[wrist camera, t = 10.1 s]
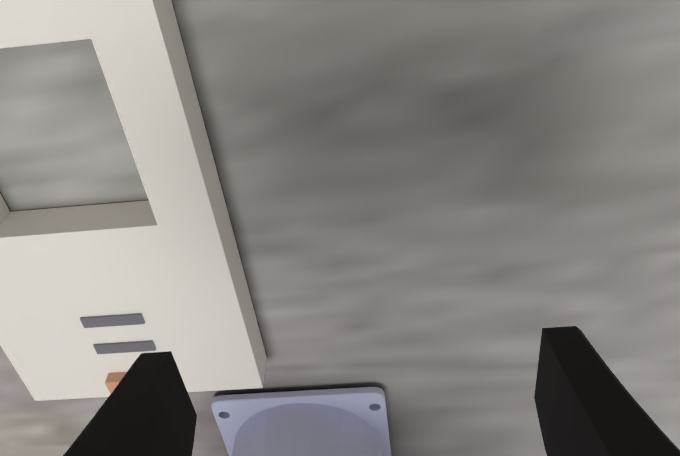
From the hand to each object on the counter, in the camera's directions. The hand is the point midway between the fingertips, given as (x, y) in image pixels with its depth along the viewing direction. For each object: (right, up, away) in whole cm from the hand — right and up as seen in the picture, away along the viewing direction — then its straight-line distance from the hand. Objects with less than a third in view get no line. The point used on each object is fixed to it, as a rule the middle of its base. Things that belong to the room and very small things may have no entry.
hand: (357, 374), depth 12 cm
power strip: (-10, +4, +10) cm, 15 cm away
